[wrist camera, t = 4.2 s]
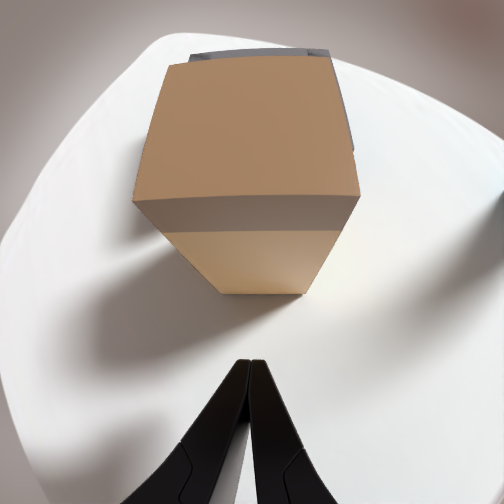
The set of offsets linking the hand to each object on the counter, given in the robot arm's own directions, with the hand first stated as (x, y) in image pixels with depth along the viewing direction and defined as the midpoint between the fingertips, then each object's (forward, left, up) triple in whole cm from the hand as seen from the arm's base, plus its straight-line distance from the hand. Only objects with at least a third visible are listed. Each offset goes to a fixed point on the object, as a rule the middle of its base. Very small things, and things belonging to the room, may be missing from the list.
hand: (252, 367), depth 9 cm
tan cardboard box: (+2, -6, -8) cm, 10 cm away
